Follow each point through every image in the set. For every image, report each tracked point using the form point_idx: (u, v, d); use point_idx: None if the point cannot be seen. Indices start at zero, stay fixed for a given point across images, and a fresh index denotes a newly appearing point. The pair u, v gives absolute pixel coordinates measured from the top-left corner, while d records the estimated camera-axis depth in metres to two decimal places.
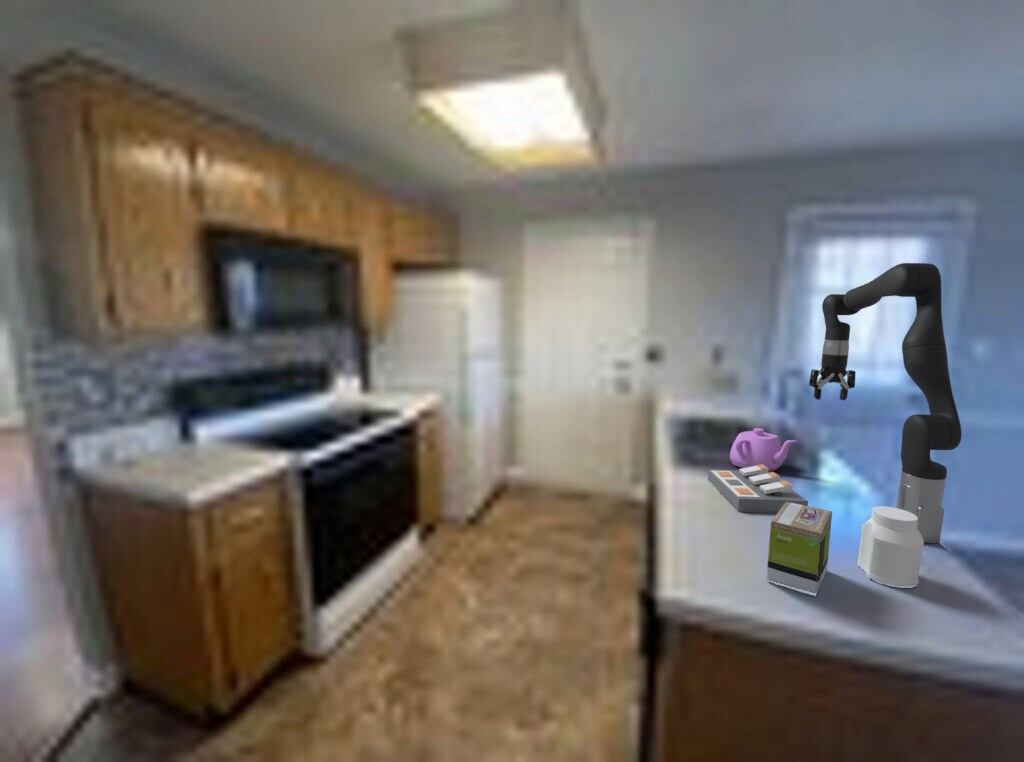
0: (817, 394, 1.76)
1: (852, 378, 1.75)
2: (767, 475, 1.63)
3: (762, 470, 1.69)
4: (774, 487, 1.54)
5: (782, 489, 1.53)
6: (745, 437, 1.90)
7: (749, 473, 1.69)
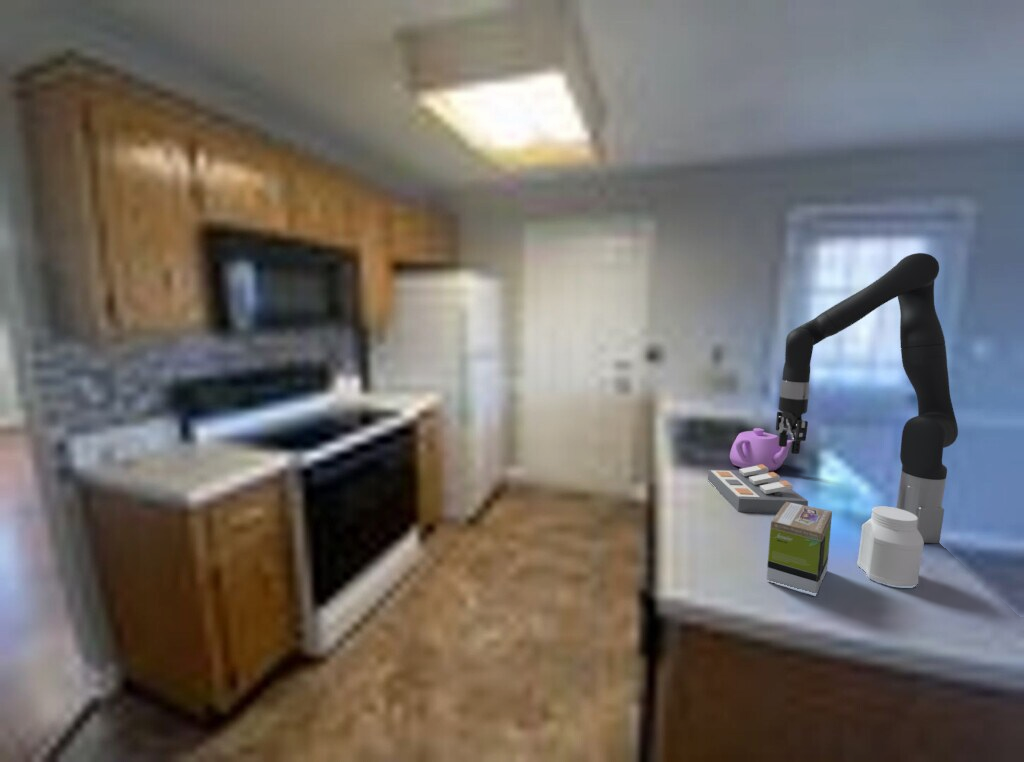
0: None
1: None
2: (767, 475, 1.63)
3: (762, 470, 1.69)
4: (774, 487, 1.54)
5: (782, 489, 1.53)
6: (745, 437, 1.90)
7: (749, 473, 1.69)
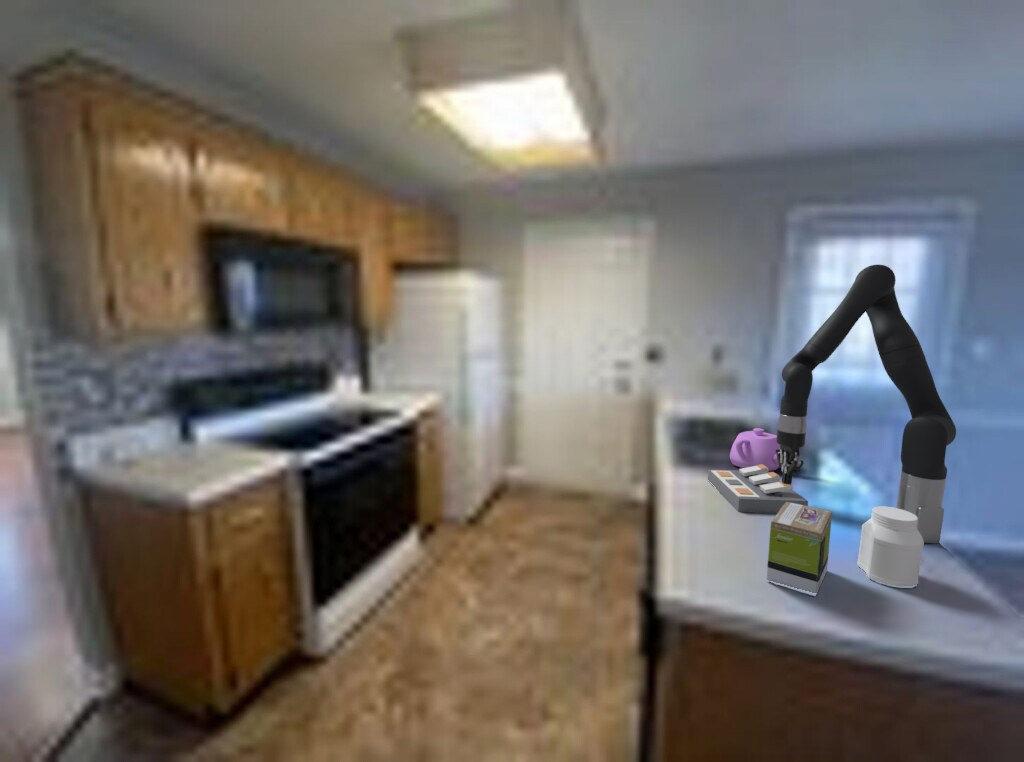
0: None
1: None
2: (767, 475, 1.63)
3: (762, 470, 1.69)
4: (774, 487, 1.54)
5: (782, 489, 1.53)
6: (745, 437, 1.90)
7: (749, 473, 1.69)
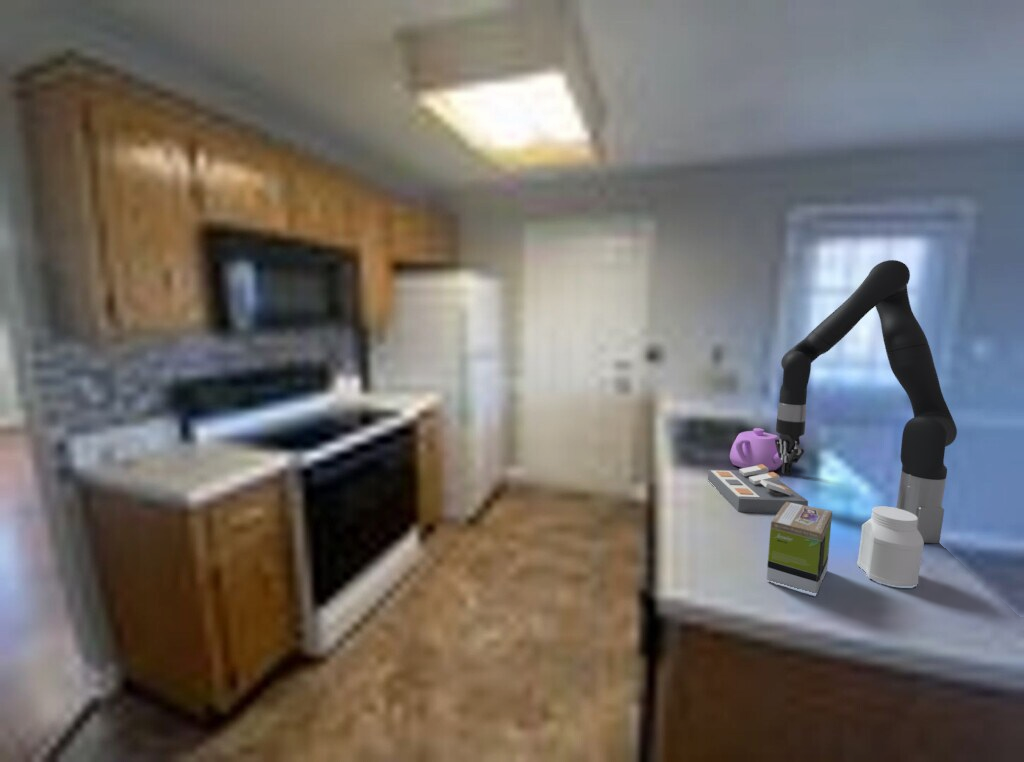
0: None
1: None
2: (767, 475, 1.63)
3: (762, 470, 1.69)
4: (775, 485, 1.54)
5: (781, 491, 1.54)
6: (745, 437, 1.90)
7: (749, 473, 1.69)
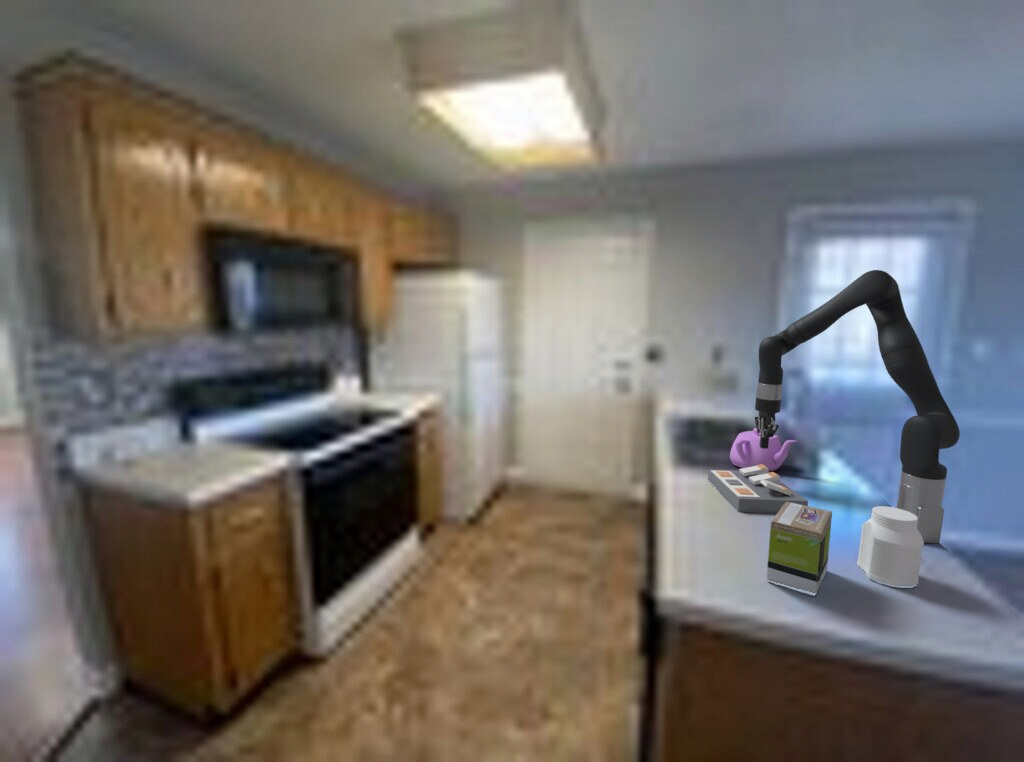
0: None
1: None
2: (767, 475, 1.63)
3: (762, 470, 1.69)
4: (775, 485, 1.54)
5: (781, 491, 1.54)
6: (745, 437, 1.90)
7: (749, 473, 1.69)
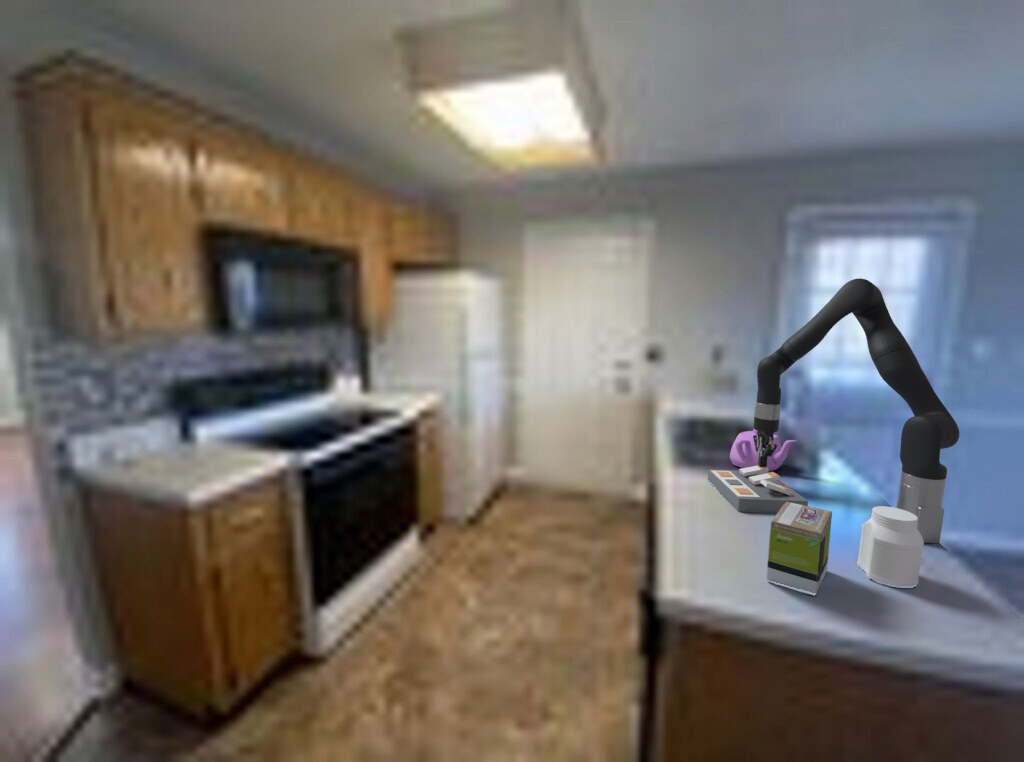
0: None
1: None
2: (767, 475, 1.63)
3: (762, 470, 1.69)
4: (775, 485, 1.54)
5: (781, 491, 1.54)
6: (745, 437, 1.90)
7: (749, 473, 1.69)
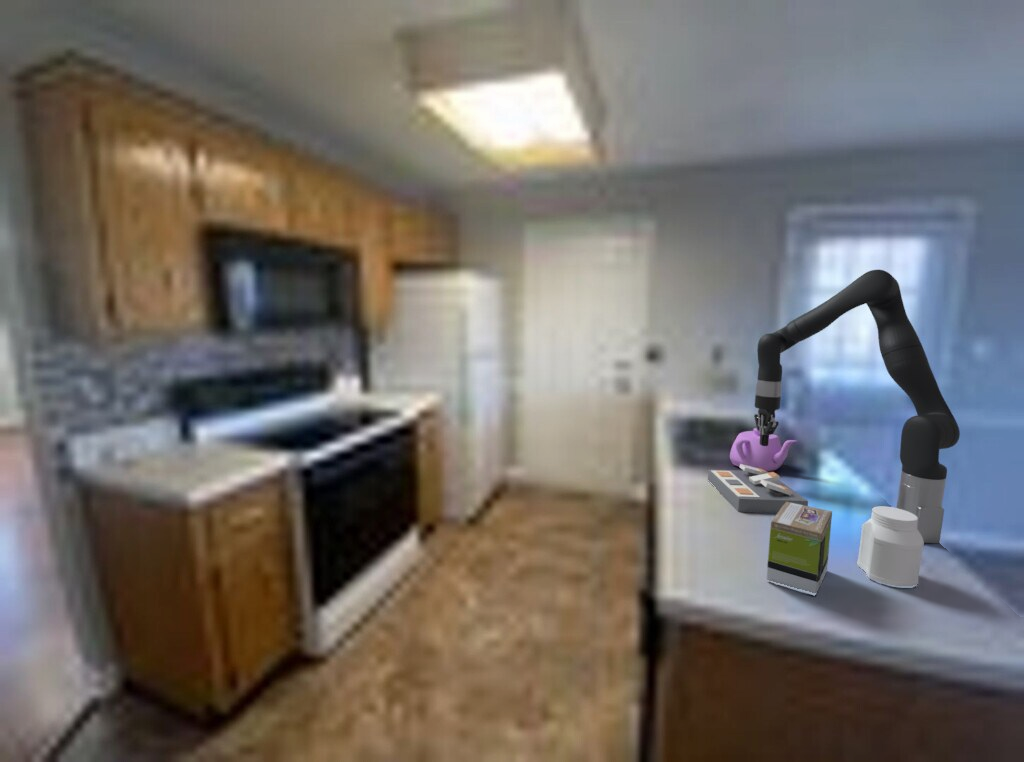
0: None
1: None
2: (767, 475, 1.63)
3: (761, 473, 1.69)
4: (775, 485, 1.54)
5: (781, 491, 1.54)
6: (745, 437, 1.90)
7: (749, 470, 1.69)
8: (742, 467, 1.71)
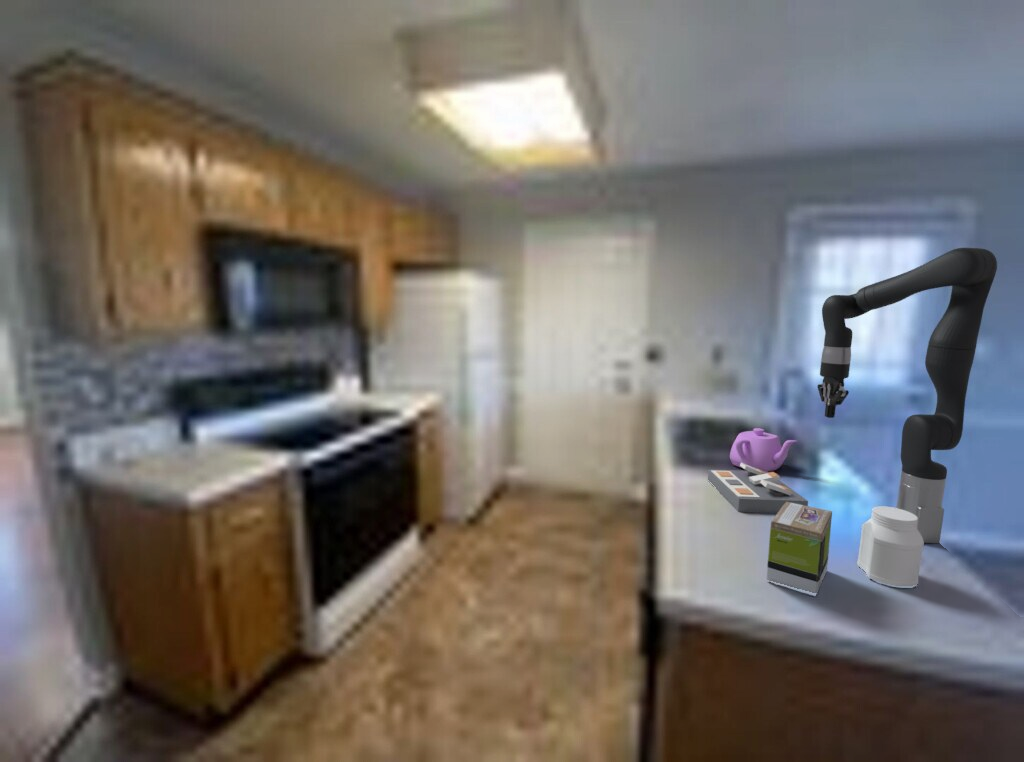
0: None
1: None
2: (767, 475, 1.63)
3: None
4: (775, 485, 1.54)
5: (781, 491, 1.54)
6: (745, 437, 1.90)
7: (750, 469, 1.69)
8: (743, 465, 1.71)
